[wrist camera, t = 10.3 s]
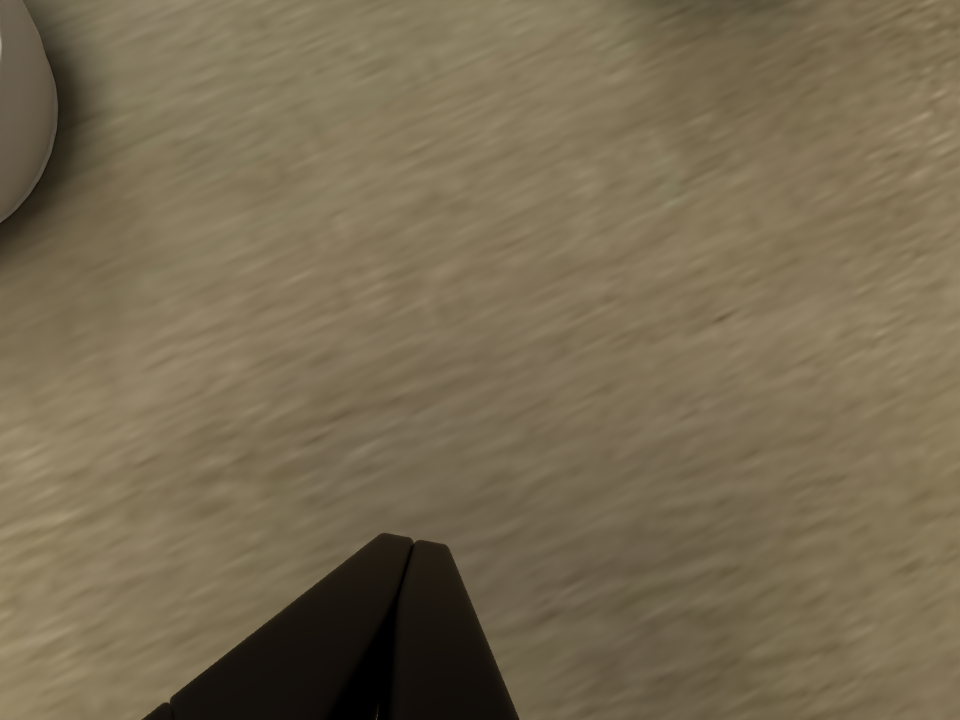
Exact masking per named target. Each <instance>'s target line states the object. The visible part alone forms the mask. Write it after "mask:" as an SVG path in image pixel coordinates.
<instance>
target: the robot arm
mask: <svg viewBox="0 0 960 720" xmlns="http://www.w3.org/2000/svg"><path fill="white" fill-rule="evenodd" d="M377 715H378V716H377ZM376 718H377V720H519V717H518V715H517V712H516V710H515V707H514V705H513V703H512V700H511V698H510V695H509V693H508V690H507V688H506V686H505V683H504V681H503V678H502V676H501V673H500V671H499V669H498V666H497V664H496V661H495V659H494V656H493V654H492V651H491V649H490V647H489V644H488V642H487V639H486V637H485V634H484V632H483V630H482V627H481V625H480V622H479V620H478V617H477V615H476V613H475V610H474V608H473V605H472V603H471V600H470V598H469V596H468V593H467V591H466V588H465V586H464V583H463V581H462V579H461V576H460V574H459V571H458V569H457V566H456V564H455V562H454V559H453V557H452V554H451V552H450V550H449V548H448V546H446V545H445V544H440V543H435V542H430V541H425V540H418V541H416V542H415V543H414V542H413V540H412V539H411V538H409V537H404V536H399V535H394V534H389V533H382V534H380V535H378V536H377V537H376V538H374V539H373V540H372V541H370V542H369V543H368V544H367V545H365V546H364V547H363V548H361V549H360V550H359V551H358V552H356V553H355V554H354V555H352V556H351V557H350V558H349V559H347V560H346V561H345V562H344V563H342V564H341V565H340V566H338V567H337V568H336V569H335V570H333V571H332V572H331V573H329V574H328V575H327V576H326V577H324V578H323V579H322V580H320V581H319V582H318V583H317V584H315V585H314V586H313V587H312V588H310V589H309V590H308V591H306V592H305V593H304V594H303V595H301V596H300V597H299V598H297V599H296V600H295V601H294V602H292V603H291V604H290V605H288V606H287V607H286V608H285V609H283V610H282V611H281V612H279V613H278V614H277V615H276V616H274V617H273V618H272V619H271V620H269V621H268V622H267V623H265V624H264V625H263V626H262V627H260V628H259V629H258V630H256V631H255V632H254V633H253V634H251V635H250V636H249V637H247V638H246V639H245V640H244V641H242V642H241V643H240V644H239V645H237V646H236V647H235V648H233V649H232V650H231V651H230V652H228V653H227V654H226V655H224V656H223V657H222V658H221V659H219V660H218V661H217V662H215V663H214V664H213V665H212V666H210V667H209V668H208V669H207V670H205V671H204V672H203V673H201V674H200V675H199V676H198V677H196V678H195V679H194V680H192V681H191V682H190V683H189V684H187V685H186V686H185V687H183V688H182V689H181V690H180V691H178V692H177V693H176V694H174V695H173V696H172V697H171V699H170V704H169V703H167V702H165V703H162V704H161V705H160V706H159V707H157V708H156V709H155V710H153V711H152V712H151V713H150V714H148V715H147V716H146V717H144V718H143V719H142V720H376Z"/></svg>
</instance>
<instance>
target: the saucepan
mask: <svg viewBox="0 0 960 720" xmlns="http://www.w3.org/2000/svg"><path fill="white" fill-rule="evenodd" d="M57 118H58V101H57V91H56V84H55V81H54V77H53V74H52V70H51V67H50V64H49V62H48V60H47V58H46V55H45V51H44V48H43V44H42V41H41V37H40V35H39V33H38V31H37V28H36V26H35V24H34V22H33V20H32V18H31V16H30V14H29V12H28V10H27V8H26V6H25V4H24V2H23V0H0V223H1V222H2V221H4V220H5V219H6V218H7V217H9V216H10V215H11V214H12V213H14V212H15V210H16V209H17V208H18V207H19V206H20V205H21V204H22V203H23V202H24V200H25V199H26V198H27V197H28V196H29V195H30V193H31V192H32V190H33V188H34V187H35V185H36V184H37V182H38V181H39V179H40V177H41V176H42V174H43V172H44V169H45V167H46V164H47V162H48V160H49V157H50V155H51V152H52V148H53V144H54V140H55V136H56V131H57Z"/></svg>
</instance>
